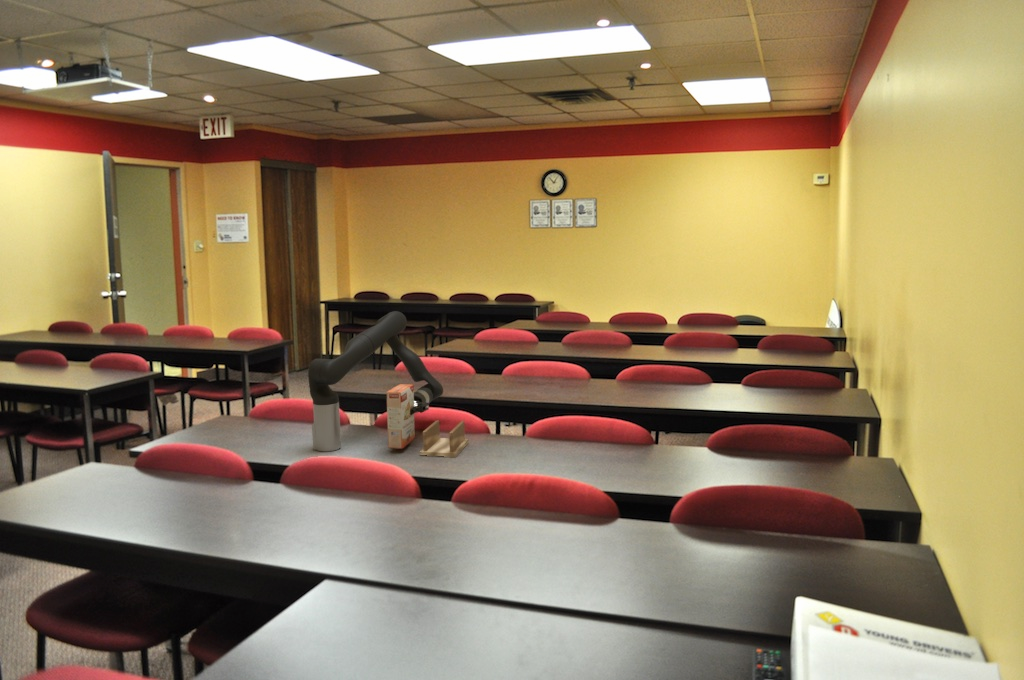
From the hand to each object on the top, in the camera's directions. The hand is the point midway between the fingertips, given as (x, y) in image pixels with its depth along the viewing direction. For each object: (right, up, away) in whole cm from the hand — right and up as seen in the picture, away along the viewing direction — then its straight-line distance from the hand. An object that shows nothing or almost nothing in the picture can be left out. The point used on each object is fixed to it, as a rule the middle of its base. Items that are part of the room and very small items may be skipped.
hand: (402, 411), depth 283 cm
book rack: (+16, -13, -3) cm, 21 cm away
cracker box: (0, -12, 0) cm, 12 cm away
